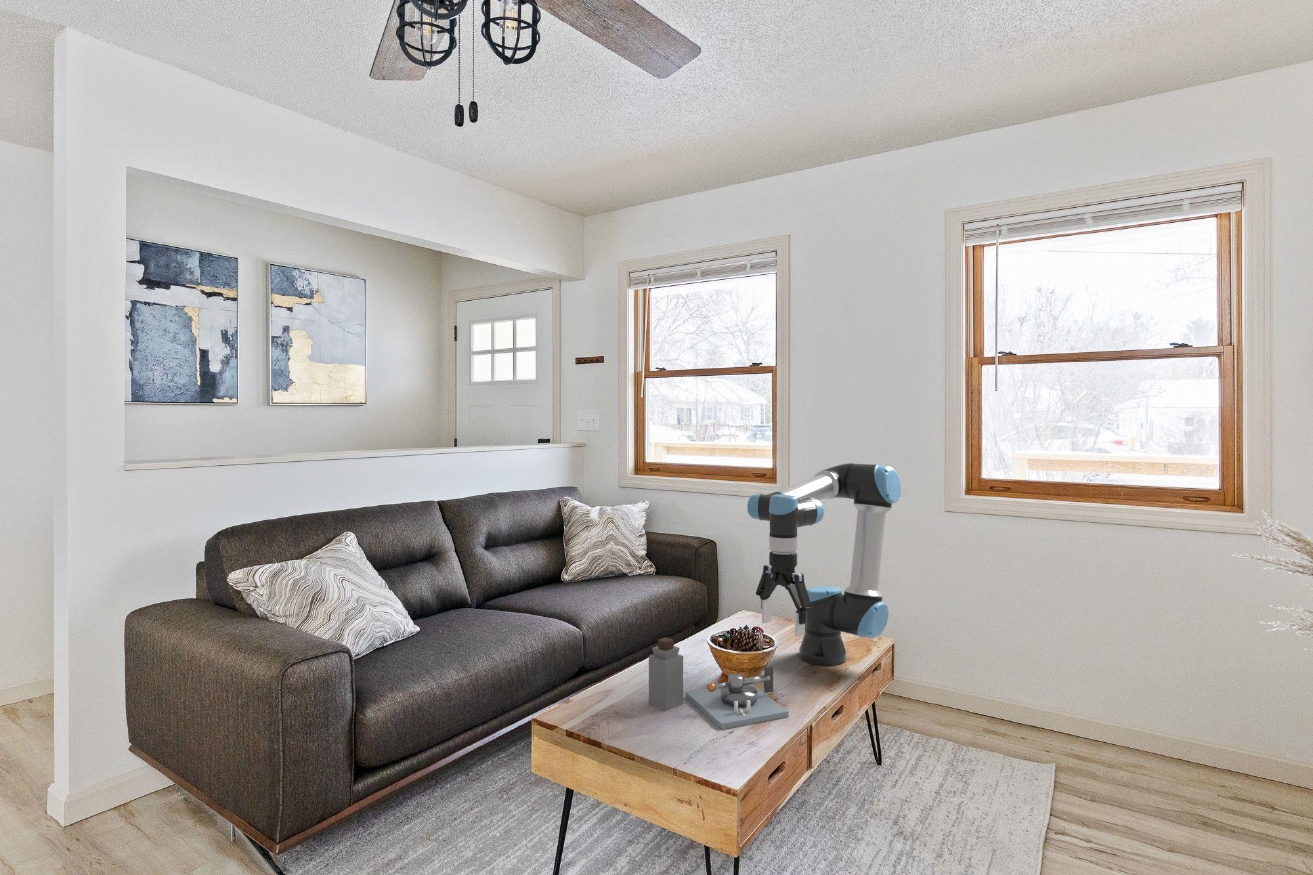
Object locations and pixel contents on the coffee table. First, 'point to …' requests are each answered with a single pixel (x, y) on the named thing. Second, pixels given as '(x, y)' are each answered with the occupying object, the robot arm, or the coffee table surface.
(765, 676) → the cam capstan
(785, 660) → the coffee table surface
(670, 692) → the perfume bottle
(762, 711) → the stand
